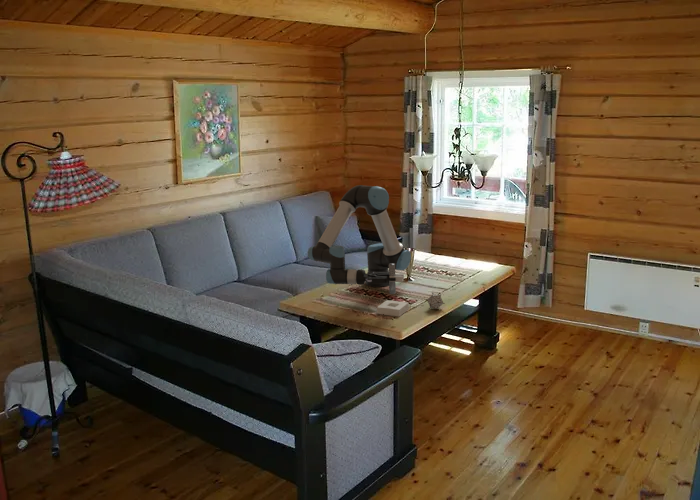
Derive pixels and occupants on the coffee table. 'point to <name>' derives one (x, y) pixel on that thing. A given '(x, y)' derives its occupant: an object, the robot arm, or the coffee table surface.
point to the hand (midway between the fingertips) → (403, 277)
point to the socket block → (393, 308)
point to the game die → (435, 301)
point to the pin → (392, 284)
